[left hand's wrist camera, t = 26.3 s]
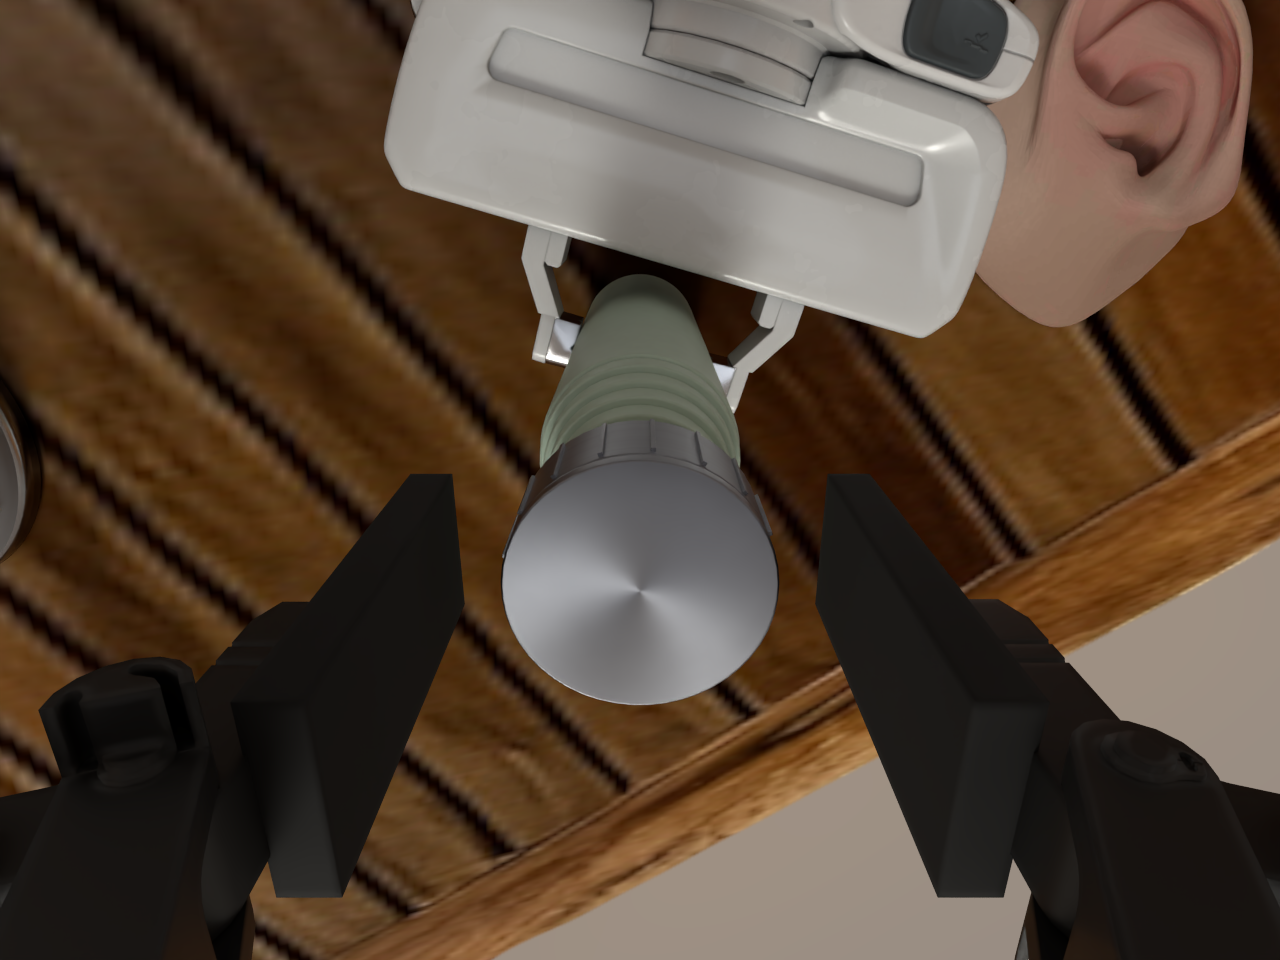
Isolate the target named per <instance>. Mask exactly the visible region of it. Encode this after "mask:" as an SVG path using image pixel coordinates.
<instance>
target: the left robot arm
mask: <svg viewBox="0 0 1280 960" xmlns="http://www.w3.org/2000/svg"><path fill="white" fill-rule="evenodd" d="M40 495H41V474H40V465H39V459H38V454H37V450H36V447H35V443H34V440H33V437H32V434H31V432H30V429H29V427H28V424H27V422H26V420H25V418H24V416H23V414H22V412H21V410H20V408H19V406H18V405H17V403H16V401H15V400H14V398H13V396H12V395H11V393H10V392H9V390H8V389H7V388H6V386H5V385H4V383H3V382H2V381H1V379H0V564H1V563H2V562H3V561H5V560H6V559H8V558H9V557H10V556H11V555H12V554H13V553H14V552H15V551H16V550H17V549H18V548H19V546H20V545H21V544H22V543H23V542H24V540H25V538H26V537H27V535H28V534H29V532H30V530H31V528H32V526H33V523H34V521H35V518H36V515H37V511H38V508H39V502H40ZM464 604H465V603H464V592H463V582H462V571H461V561H460V551H459V540H458V530H457V519H456V509H455V499H454V488H453V478H452V474H410V475H409V477H408V478H407V479H406V481H405V482H404V483H403V484H402V486H401V487H400V488H399V489H398V491H397V492H396V493H395V494H394V496H393V497H392V498H391V500H390V501H389V502H388V503H387V505H386V506H385V507H384V508H383V510H382V511H381V512H380V513H379V515H378V516H377V517H376V518H375V520H374V521H373V522H372V524H371V525H370V526H369V527H368V529H367V530H366V531H365V532H364V534H363V535H362V536H361V537H360V539H359V540H358V541H357V543H356V544H355V545H354V546H353V548H352V549H351V550H350V551H349V553H348V554H347V555H346V556H345V558H344V559H343V560H342V561H341V563H340V564H339V565H338V567H337V568H336V569H335V570H334V572H333V573H332V574H331V575H330V577H329V578H328V579H327V580H326V582H325V583H324V584H323V585H322V587H321V588H320V589H319V591H318V592H317V593H316V594H315V596H314V597H313V598H312V599H311V601H310V602H281V603H280V604H278V605H276V606H275V607H273V608H272V609H270V610H268V611H267V612H265V613H263V614H262V615H260V616H258V617H257V618H255V619H254V620H252V621H251V622H250V623H249V624H248V625H247V626H246V628H245V629H244V630H243V631H242V632H241V633H240V634H239V635H238V637H237V638H236V639H235V640H234V641H233V642H232V647H228V648H227V649H226V650H225V651H224V652H223V653H222V655H221V656H220V657H219V658H218V659H217V660H216V665H212V666H211V667H210V668H209V669H208V670H207V671H206V673H205V674H204V675H203V676H202V677H201V678H200V679H199V680H198V682H197V683H196V684H195V680H194V676H193V672H192V669H191V668H190V667H189V666H187V665H186V664H185V663H183V662H182V661H180V660H176V659H170V658H164V657H151V658H139V659H132V660H128V661H124V662H120V663H116V664H112V665H108V666H105V667H102V668H100V669H98V670H95V671H93V672H91V673H88V674H86V675H84V676H81V677H79V678H77V679H75V680H74V681H72V682H70V683H69V684H67V685H66V686H64V687H63V688H61V689H60V690H58V691H57V692H55V693H54V694H53V695H52V696H51V697H50V698H49V699H48V700H47V701H46V702H45V703H44V704H43V706H42V707H41V708H40V709H39V710H38V711H39V713H40V716H41V719H42V722H43V725H44V728H45V731H46V733H47V736H48V739H49V742H50V745H51V748H52V750H53V753H54V756H55V759H56V762H57V765H58V768H59V770H60V773H61V776H62V779H61V781H60V783H59V785H55V786H52V787H47V788H43V789H38V790H33V791H29V792H24V793H19V794H14V795H10V796H5V797H0V960H251V959H252V950H253V941H254V933H255V920H254V913H253V908H252V904H251V900H250V896H249V894H250V892H251V890H252V889H253V887H254V885H255V883H256V881H257V880H258V878H259V876H260V874H261V872H262V870H263V869H264V867H265V865H266V863H267V861H268V864H269V868H270V872H271V877H272V881H273V885H274V889H275V893H276V897H343V894H344V892H345V889H346V887H347V885H348V882H349V880H350V877H351V875H352V873H353V870H354V868H355V865H356V863H357V861H358V858H359V856H360V853H361V851H362V849H363V846H364V844H365V842H366V839H367V837H368V834H369V832H370V830H371V827H372V825H373V822H374V820H375V818H376V815H377V813H378V810H379V808H380V806H381V803H382V801H383V798H384V796H385V794H386V791H387V789H388V786H389V784H390V782H391V779H392V777H393V774H394V772H395V770H396V767H397V765H398V762H399V760H400V758H401V755H402V753H403V751H404V748H405V746H406V743H407V741H408V739H409V736H410V734H411V731H412V729H413V727H414V724H415V722H416V719H417V717H418V715H419V712H420V710H421V707H422V705H423V703H424V700H425V698H426V695H427V693H428V691H429V688H430V686H431V683H432V681H433V679H434V676H435V674H436V671H437V669H438V667H439V664H440V662H441V659H442V657H443V655H444V652H445V650H446V648H447V645H448V643H449V640H450V638H451V636H452V633H453V631H454V628H455V626H456V624H457V621H458V619H459V616H460V614H461V612H462V609H463V607H464ZM815 604H816V607H817V609H818V612H819V614H820V616H821V619H822V621H823V624H824V626H825V628H826V631H827V633H828V636H829V638H830V640H831V643H832V645H833V648H834V650H835V652H836V655H837V657H838V659H839V662H840V664H841V667H842V669H843V671H844V674H845V676H846V679H847V681H848V683H849V686H850V688H851V691H852V693H853V695H854V698H855V700H856V703H857V705H858V707H859V710H860V712H861V715H862V717H863V719H864V722H865V724H866V727H867V729H868V731H869V734H870V736H871V739H872V741H873V743H874V746H875V748H876V751H877V753H878V755H879V758H880V760H881V762H882V765H883V767H884V770H885V772H886V774H887V777H888V779H889V782H890V784H891V786H892V789H893V791H894V793H895V796H896V798H897V801H898V803H899V805H900V808H901V810H902V813H903V815H904V817H905V820H906V822H907V825H908V827H909V830H910V832H911V834H912V837H913V839H914V841H915V844H916V846H917V849H918V851H919V853H920V856H921V858H922V861H923V863H924V865H925V868H926V870H927V873H928V875H929V877H930V880H931V882H932V885H933V887H934V889H935V892H936V894H937V897H1004V893H1005V889H1006V885H1007V881H1008V877H1009V872H1010V868H1011V864H1012V860H1013V859H1014V861H1015V863H1016V865H1017V867H1018V868H1019V870H1020V872H1021V874H1022V876H1023V877H1024V879H1025V881H1026V883H1027V885H1028V886H1029V888H1030V890H1031V896H1030V900H1029V904H1028V908H1027V912H1026V916H1025V920H1024V924H1023V927H1022V931H1021V935H1020V939H1019V943H1018V947H1017V951H1016V955H1015V960H1028V959H1029V960H1280V794H1277V793H1272V792H1268V791H1263V790H1258V789H1254V788H1249V787H1244V786H1239V785H1235V784H1230V783H1226V782H1223V781H1220V780H1219V777H1218V776H1217V775H1216V773H1215V772H1214V771H1213V769H1212V768H1211V767H1210V765H1209V764H1208V763H1207V761H1206V760H1205V759H1204V758H1203V757H1201V756H1200V755H1199V754H1197V753H1196V752H1195V751H1193V750H1192V749H1191V748H1189V747H1188V746H1187V745H1185V744H1184V743H1183V742H1181V741H1179V740H1177V739H1175V738H1173V737H1171V736H1169V735H1167V734H1165V733H1163V732H1160V731H1158V730H1156V729H1153V728H1150V727H1146V726H1143V725H1140V724H1136V723H1133V722H1129V721H1121V720H1120V719H1119V718H1118V717H1117V716H1116V715H1115V714H1114V713H1113V711H1112V710H1111V709H1110V708H1109V707H1108V706H1107V705H1106V704H1105V703H1104V701H1103V700H1102V699H1101V698H1100V697H1099V696H1098V695H1097V694H1096V692H1095V691H1094V690H1093V689H1092V688H1091V687H1090V686H1089V685H1088V684H1087V682H1086V681H1085V680H1084V679H1083V678H1082V677H1081V676H1080V675H1079V673H1078V672H1077V671H1076V670H1075V669H1074V668H1073V667H1072V666H1071V665H1070V663H1065V658H1064V657H1063V656H1062V655H1061V653H1060V652H1059V651H1058V650H1057V649H1056V648H1055V647H1054V646H1053V644H1049V643H1048V639H1047V638H1046V637H1045V636H1044V634H1043V633H1042V632H1041V631H1040V630H1039V629H1038V628H1037V627H1036V626H1035V624H1034V623H1033V622H1032V621H1031V620H1030V619H1029V618H1028V617H1026V616H1025V615H1023V614H1021V613H1020V612H1018V611H1016V610H1015V609H1013V608H1011V607H1010V606H1008V605H1006V604H1005V603H1003V602H1002V601H1000V600H998V599H968V598H967V597H966V596H965V594H964V593H963V592H962V591H961V589H960V588H959V587H958V585H957V584H956V583H955V582H954V580H953V579H952V578H951V577H950V575H949V574H948V573H947V572H946V570H945V569H944V568H943V567H942V565H941V564H940V563H939V561H938V560H937V559H936V558H935V556H934V555H933V554H932V553H931V551H930V550H929V549H928V548H927V546H926V545H925V544H924V543H923V541H922V540H921V539H920V537H919V536H918V535H917V534H916V532H915V531H914V530H913V529H912V527H911V526H910V525H909V524H908V522H907V521H906V520H905V518H904V517H903V516H902V515H901V513H900V512H899V511H898V510H897V508H896V507H895V506H894V505H893V503H892V502H891V501H890V500H889V498H888V497H887V496H886V494H885V493H884V492H883V491H882V489H881V488H880V487H879V486H878V484H877V483H876V482H875V481H874V479H873V478H872V477H871V475H870V474H828V478H827V488H826V499H825V509H824V519H823V530H822V540H821V551H820V561H819V571H818V582H817V592H816V603H815Z"/></svg>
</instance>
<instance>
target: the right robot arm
mask: <svg viewBox="0 0 1280 960" xmlns="http://www.w3.org/2000/svg"><path fill="white" fill-rule="evenodd" d="M410 4H411V8H412V11H413V15H414V17H415V21H414V24H413V27H412V30H411V33H410V36H409V39H408V43H407V46H406V49H405V53H404V56H403V60H402V63H401V67H400V70H399V74H398V78H397V82H396V86H395V90H394V94H393V99H392V103H391V107H390V112H389V117H388V122H387V127H386V133H385V140H384V151H385V155H386V158H387V160H388V162H389V164H390V166H391V168H392V170H393V172H394V174H395V176H396V178H397V179H398V181H399V183H400V184H401V185H402V186H403V187H404V188H406V189H408V190H412V191H415V192H418V193H421V194H425V195H428V196H432V197H435V198H439V199H442V200H446V201H449V202H452V203H456V204H459V205H463V206H466V207H470V208H473V209H476V210H480V211H483V212H487V213H490V214H494V215H497V216H500V217H504V218H507V219H511V220H514V221H518V222H521V223H525V224H528V230H527V235H526V239H525V244H524V249H523V253H522V262H523V265H524V268H525V271H526V275H527V278H528V281H529V284H530V288H531V291H532V294H533V297H534V301H535V304H536V307H537V310H538V313H540V314H541V319H540V323H539V327H538V332H537V336H536V340H535V345H534V349H533V355H532V359H533V360H536V361H539V362H542V363H547V364H551V365H555V366H559V367H563V368H566V365H567V363H568V360H569V358H570V355H571V353H572V351H573V348H574V346H575V343H576V341H577V339H578V336H579V334H580V331H581V328H582V324H583V319H584V317H580V316H577V315H574V314H570V313H567V312H564V309H563V306H562V302H561V298H560V295H559V291H558V287H557V283H556V280H555V276H554V272H553V269H552V266H553V267H556V268H558V267H559V266H561V265H562V264H563V263H564V262H565V261H566V259H567V255H568V251H569V247H570V243H571V239H572V237H573V238H576V239H579V240H583V241H586V242H590V243H593V244H597V245H600V246H603V247H607V248H610V249H614V250H617V251H621V252H624V253H628V254H631V255H634V256H638V257H641V258H645V259H648V260H652V261H655V262H658V263H662V264H665V265H669V266H672V267H676V268H679V269H682V270H686V271H689V272H693V273H696V274H700V275H703V276H706V277H710V278H713V279H717V280H720V281H724V282H727V283H731V284H734V285H737V286H741V287H744V288H748V289H751V290H755V291H757V294H756V298H755V301H754V304H753V307H752V310H751V315H752V317H753V318H754V319H755V320H756V321H757V323H758V324H759V326H758V327H757V328H756V329H755V330H754V331H753V332H752V333H751V334H750V335H749V336H748V337H747V338H746V339H745V340H744V341H743V342H742V343H741V344H740V345H739V346H737V347H736V348H735V349H734V350H733V351H732V352H731V353H730V354H729V355H728V357H724V356H720V355H716V354H712V353H709V355H710V358H711V360H712V363H713V365H714V368H715V370H716V373H717V375H718V378H719V380H720V382H721V385H722V387H723V390H724V392H725V395H726V397H727V400H728V402H729V405H730V407H731V410H732V412H733V413H734V412H735V410H736V408H737V406H738V403H739V400H740V397H741V394H742V391H743V388H744V385H745V382H746V379H747V376H748V374H749V372H751V373H753V372H754V371H755V370H756V369H757V368H758V367H759V366H761V365H762V364H763V363H764V362H765V361H766V360H767V359H768V358H770V357H771V356H772V355H773V354H774V353H775V352H776V351H778V350H779V349H780V348H781V347H782V346H783V345H784V344H785V343H787V342H788V341H789V340H790V339H791V338H792V337H793V336H794V333H795V331H796V328H797V325H798V322H799V319H800V317H801V314H802V311H803V308H804V306H805V305H806V306H810V307H813V308H816V309H820V310H823V311H827V312H830V313H834V314H837V315H840V316H844V317H847V318H851V319H854V320H858V321H861V322H864V323H868V324H871V325H875V326H878V327H882V328H885V329H888V330H892V331H895V332H899V333H902V334H906V335H909V336H913V337H916V338H924V337H926V336H928V335H930V334H932V333H933V332H935V331H936V330H938V329H939V328H940V327H942V326H943V325H945V324H946V323H948V322H949V321H950V320H952V319H953V318H954V317H955V315H956V314H957V312H958V311H959V309H960V307H961V305H962V303H963V301H964V298H965V296H966V294H967V291H968V289H969V287H970V284H971V282H972V279H973V277H974V274H975V271H976V269H977V266H978V264H979V261H980V258H981V255H982V252H983V250H984V247H985V244H986V241H987V238H988V235H989V232H990V229H991V225H992V222H993V219H994V216H995V212H996V209H997V205H998V202H999V198H1000V195H1001V191H1002V187H1003V184H1004V179H1005V174H1006V166H1007V142H1006V136H1005V133H1004V130H1003V127H1002V125H1001V123H1000V121H999V120H998V118H997V117H996V115H995V114H994V113H993V112H992V111H991V110H990V109H989V108H988V107H987V106H988V105H991V104H993V103H996V102H999V101H1001V100H1003V99H1006V98H1008V97H1010V96H1012V95H1013V94H1015V93H1016V92H1017V91H1018V90H1019V89H1020V87H1021V86H1022V85H1023V83H1024V82H1025V80H1026V78H1027V76H1028V74H1029V72H1030V70H1031V68H1032V66H1033V62H1034V61H1035V58H1036V55H1037V52H1038V48H1039V34H1038V31H1037V29H1036V27H1035V25H1034V24H1033V23H1032V21H1031V20H1030V19H1029V18H1028V17H1027V16H1026V15H1025V14H1024V13H1023V12H1022V11H1021V10H1020V9H1018V8H1017V7H1016V6H1015V5H1014V4H1012V3H1011V2H1010V1H1009V0H410Z"/></svg>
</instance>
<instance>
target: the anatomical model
mask: <svg viewBox="0 0 1280 960" xmlns="http://www.w3.org/2000/svg"><path fill="white" fill-rule="evenodd" d="M1014 5H1015V6H1016V7H1017V8H1018V9H1020V10H1021V11H1022V12H1023V13H1024V14H1025V15H1026V16H1027V17H1028V18H1029V19H1030V20H1031V21H1032V23H1033V24H1034V25H1035V27H1036V29H1037V31H1038V34H1039V48H1038V52H1037V55H1036V58H1035V61H1034V62H1033V66H1032V68H1031V70H1030V72H1029V74H1028V76H1027V78H1026V80H1025V82H1024V83H1023V85H1022V86H1021V87H1020V89H1019V90H1018V91H1017V92H1016V93H1015V94H1013V95H1012V96H1010V97H1008V98H1006V99H1003V100H1001V101H999V102H996V103H993V104H991V105H988V106H987V107H988V108H989V109H990V110H991V111H992V112H993V113H994V114H995V115H996V117H997V118H998V120H999V121H1000V123H1001V125H1002V127H1003V130H1004V133H1005V136H1006V142H1007V166H1006V174H1005V179H1004V184H1003V187H1002V191H1001V195H1000V198H999V202H998V205H997V209H996V212H995V216H994V219H993V222H992V225H991V229H990V232H989V235H988V238H987V241H986V244H985V247H984V250H983V252H982V255H981V258H980V261H979V264H978V266H977V269H976V271H975V272H976V273H977V274H978V275H979V276H980V278H981V279H982V280H983V281H984V282H985V283H986V284H987V285H988V286H989V287H990V288H991V289H992V290H993V291H994V292H996V293H997V294H998V295H999V296H1000V297H1001V298H1002V299H1004V300H1005V301H1006V302H1007V303H1008V304H1010V305H1011V306H1012V307H1013V308H1015V309H1016V310H1017V311H1019V312H1021V313H1022V314H1024V315H1025V316H1027V317H1028V318H1030V319H1032V320H1034V321H1036V322H1038V323H1040V324H1043V325H1046V326H1050V327H1064V326H1069V325H1072V324H1075V323H1078V322H1080V321H1082V320H1084V319H1086V318H1087V317H1089V316H1091V315H1092V314H1094V313H1095V312H1097V311H1099V310H1100V309H1101V308H1103V307H1104V306H1106V305H1107V304H1108V303H1110V302H1111V301H1112V300H1114V299H1115V298H1116V297H1118V296H1119V295H1120V294H1122V293H1123V292H1124V291H1125V290H1127V289H1128V288H1129V287H1131V286H1132V285H1133V284H1135V283H1136V282H1137V281H1139V280H1140V279H1141V278H1142V277H1143V276H1144V275H1145V274H1146V273H1147V272H1148V271H1149V270H1151V269H1152V268H1153V267H1154V266H1155V265H1156V264H1157V263H1158V262H1159V261H1160V260H1161V259H1162V258H1163V257H1164V256H1165V255H1166V254H1167V253H1168V252H1169V251H1170V250H1171V249H1172V248H1173V247H1174V246H1175V245H1176V243H1177V242H1178V241H1179V240H1180V238H1181V237H1182V236H1183V234H1184V233H1185V231H1186V229H1187V228H1188V226H1190V225H1193V224H1195V223H1198V222H1200V221H1203V220H1205V219H1207V218H1209V217H1211V216H1213V215H1215V214H1216V213H1218V212H1219V211H1221V210H1222V209H1223V208H1224V207H1225V206H1226V205H1227V204H1228V203H1229V202H1230V200H1231V199H1232V197H1233V196H1234V193H1235V191H1236V189H1237V186H1238V181H1239V177H1240V173H1241V165H1242V156H1243V147H1244V139H1245V131H1246V124H1247V116H1248V108H1249V101H1250V91H1251V81H1252V64H1253V48H1252V35H1251V28H1250V23H1249V20H1248V16H1247V12H1246V9H1245V6H1244V4H1243V2H1242V0H1016V1H1015V3H1014Z"/></svg>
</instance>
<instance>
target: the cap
mask: <svg viewBox="0 0 1280 960" xmlns="http://www.w3.org/2000/svg"><path fill="white" fill-rule="evenodd" d="M517 514H519V515H517V517H516V519H515V522H514V525H513V527H512V530H511V533H510V535H509V538H508V541H507V543H506V546H505V549H504V552H503V555H502V558H504V560H503V564H502V573H501V591H502V600H503V605H504V609H505V613H506V616H507V619H508V621H509V624H510V627H511V629H512V631H513V633H514V634H515V636H516V638H517V640H518V642H519V643H520V645H521V646H522V647H523V649H524V650H525V652H526V653H527V654H528V656H529V657H530V658H531V659H532V660H533V661H534V662H535V663H536V664H537V665H538V666H539V667H540V668H541V669H542V670H544V671H545V672H546V673H547V674H549V675H550V676H551V677H552V678H554V679H555V680H557V681H559V682H560V683H562V684H563V685H565V686H566V687H569V688H571V689H573V690H575V691H577V692H579V693H581V694H584V695H587V696H590V697H593V698H595V699H599V700H603V701H608V702H612V703H619V704H628V705H652V704H661V703H668V702H672V701H677V700H682V699H684V698H687V697H690V696H693V695H696V694H699V693H701V692H703V691H705V690H707V689H710V688H712V687H713V686H715V685H717V684H718V683H720V682H722V681H723V680H725V679H726V678H728V677H729V676H730V675H731V674H733V673H734V672H735V671H737V670H738V669H739V668H740V667H741V666H742V665H743V664H744V663H745V662H746V661H747V660H748V659H749V658H750V657H751V656H752V654H753V653H754V652H755V650H756V649H757V648H758V646H759V645H760V644H761V642H762V640H763V638H764V636H765V635H766V633H767V631H768V629H769V627H770V624H771V622H772V619H773V616H774V614H775V609H776V605H777V600H778V592H779V572H778V564H777V559H776V555H775V550H774V548H773V545H772V542H771V540H770V537H769V536H771V535H773V534H772V531H771V528H770V526H769V523H768V521H767V518H766V515H765V513H764V510H763V507H762V505H761V502H760V499H759V497H758V494H757V495H754V494H753V491H752V488H751V486H750V484H749V482H748V481H747V479H746V477H745V475H744V474H743V472H742V471H741V470H740V468H739V465H738V462H737V460H736V459H735V458H733V459H731V458H730V457H729V456H728V455H727V454H726V453H725V452H724V451H723V450H722V449H721V448H719V447H718V446H717V445H715V444H714V443H713V442H711V441H710V440H708V439H706V438H705V437H703V436H701V434H700V432H698V431H696V432H693V431H690V430H688V429H686V428H683V427H680V426H676V425H672V424H669V423H664V422H657V421H654V419H650V421H649V420H632V421H623V422H615V423H612V424H608V425H607V424H606V423H603V424H602V426H600V427H597V428H595V429H592V430H590V431H587V432H585V433H583V434H581V435H579V436H577V437H575V438H574V439H572V440H570V441H569V442H567V443H566V444H564V443H562V444H560V446H559V449H558V450H557V451H556V452H555V453H554V454H553V455H552V456H551V457H550V458H549V459H548V460H547V461H546V462H545V463H544V464H543V466H542V467H541V468H540V470H539V471H538V472H537V474H536V475H535V476H533V475H532V476H531V478H530V480H529V483H528V485H527V488H526V491H525V494H524V496H523V499H522V502H521V504H520V507H519V510H518V512H517Z"/></svg>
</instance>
